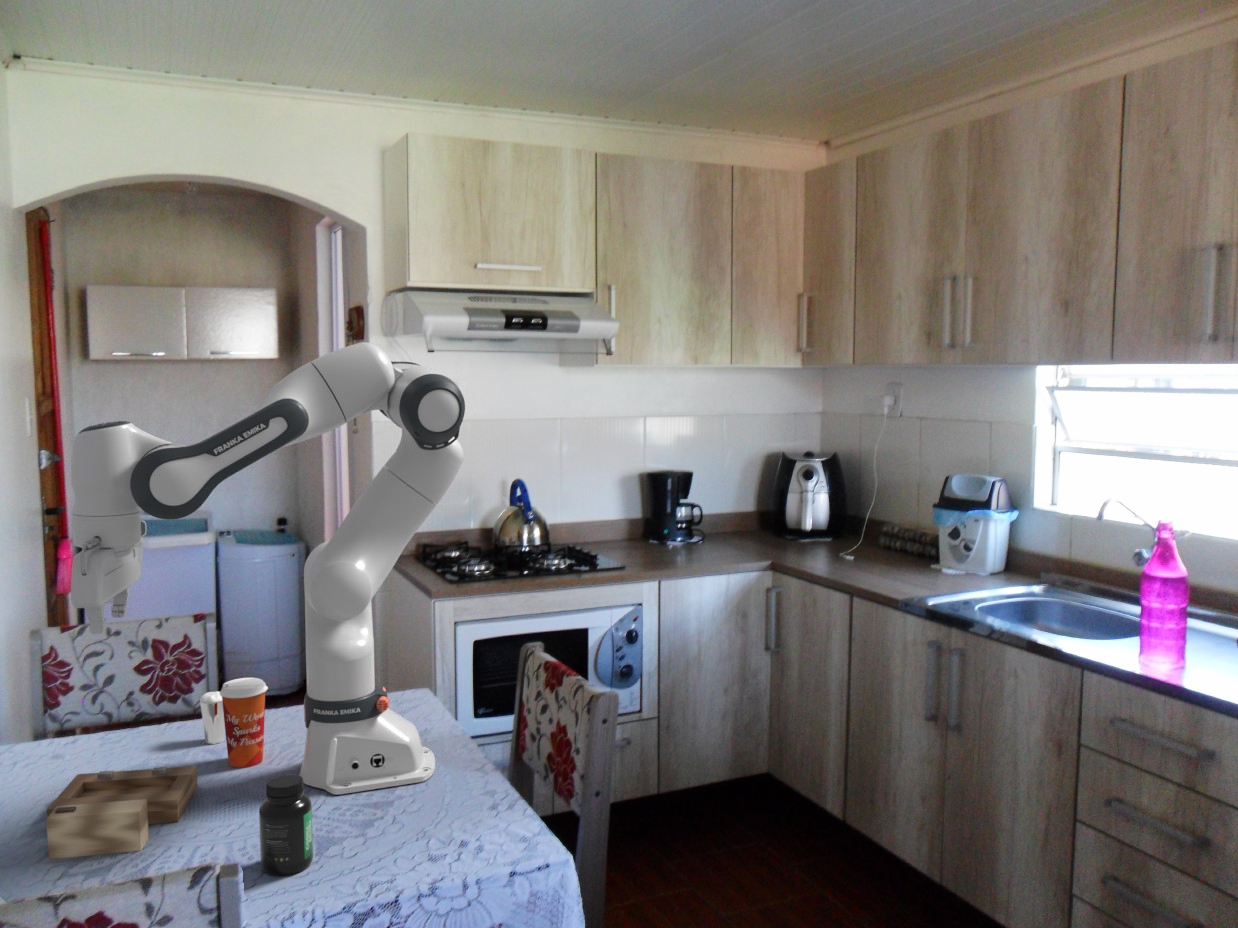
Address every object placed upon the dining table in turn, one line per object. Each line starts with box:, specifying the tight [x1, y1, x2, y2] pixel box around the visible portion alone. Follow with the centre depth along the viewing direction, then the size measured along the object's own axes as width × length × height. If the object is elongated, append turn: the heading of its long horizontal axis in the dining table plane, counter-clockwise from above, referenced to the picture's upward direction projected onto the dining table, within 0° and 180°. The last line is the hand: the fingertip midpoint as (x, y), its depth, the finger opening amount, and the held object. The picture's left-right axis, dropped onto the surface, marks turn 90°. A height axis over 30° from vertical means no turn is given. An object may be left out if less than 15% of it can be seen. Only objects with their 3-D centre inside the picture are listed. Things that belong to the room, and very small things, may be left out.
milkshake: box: [199, 691, 226, 745], centre depth 181 cm, size 5×5×10 cm
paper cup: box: [219, 677, 269, 769], centre depth 171 cm, size 8×8×14 cm
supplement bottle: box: [258, 773, 314, 877], centre depth 135 cm, size 7×7×12 cm
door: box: [46, 799, 150, 860], centre depth 140 cm, size 12×4×6 cm, turn 102°
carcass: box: [46, 765, 199, 825], centre depth 153 cm, size 18×13×4 cm
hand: (109, 624), depth 146 cm, fingers open, 8 cm apart
